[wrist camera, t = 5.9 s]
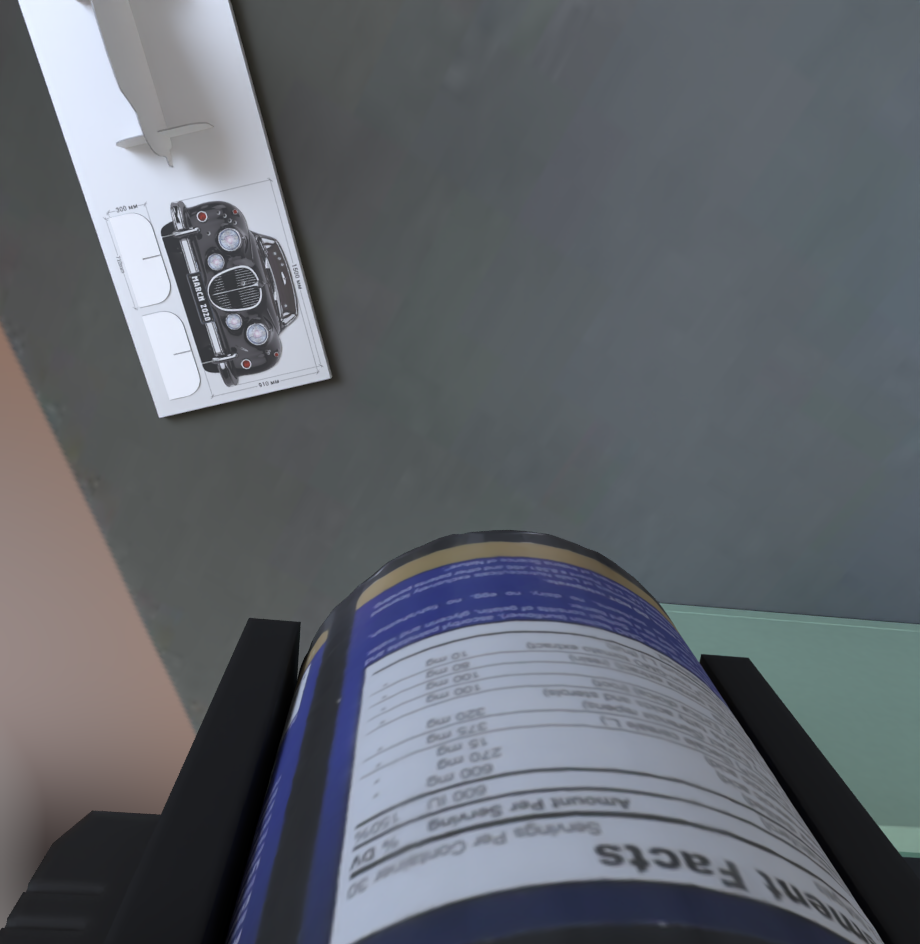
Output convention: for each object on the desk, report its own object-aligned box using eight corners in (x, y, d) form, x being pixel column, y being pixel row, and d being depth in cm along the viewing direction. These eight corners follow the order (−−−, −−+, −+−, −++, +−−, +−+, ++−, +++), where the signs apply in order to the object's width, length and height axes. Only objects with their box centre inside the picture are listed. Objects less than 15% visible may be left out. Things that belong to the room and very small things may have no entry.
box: (532, 865, 37) (593, 1192, 24) (576, 595, 33) (674, 813, 21) (855, 883, 38) (1073, 1203, 26) (931, 624, 35) (1230, 847, 22)
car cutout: (15, -21, 26) (-63, -71, 22) (212, -68, 26) (171, -128, 22) (162, 415, 31) (120, 444, 26) (332, 376, 30) (318, 398, 26)
